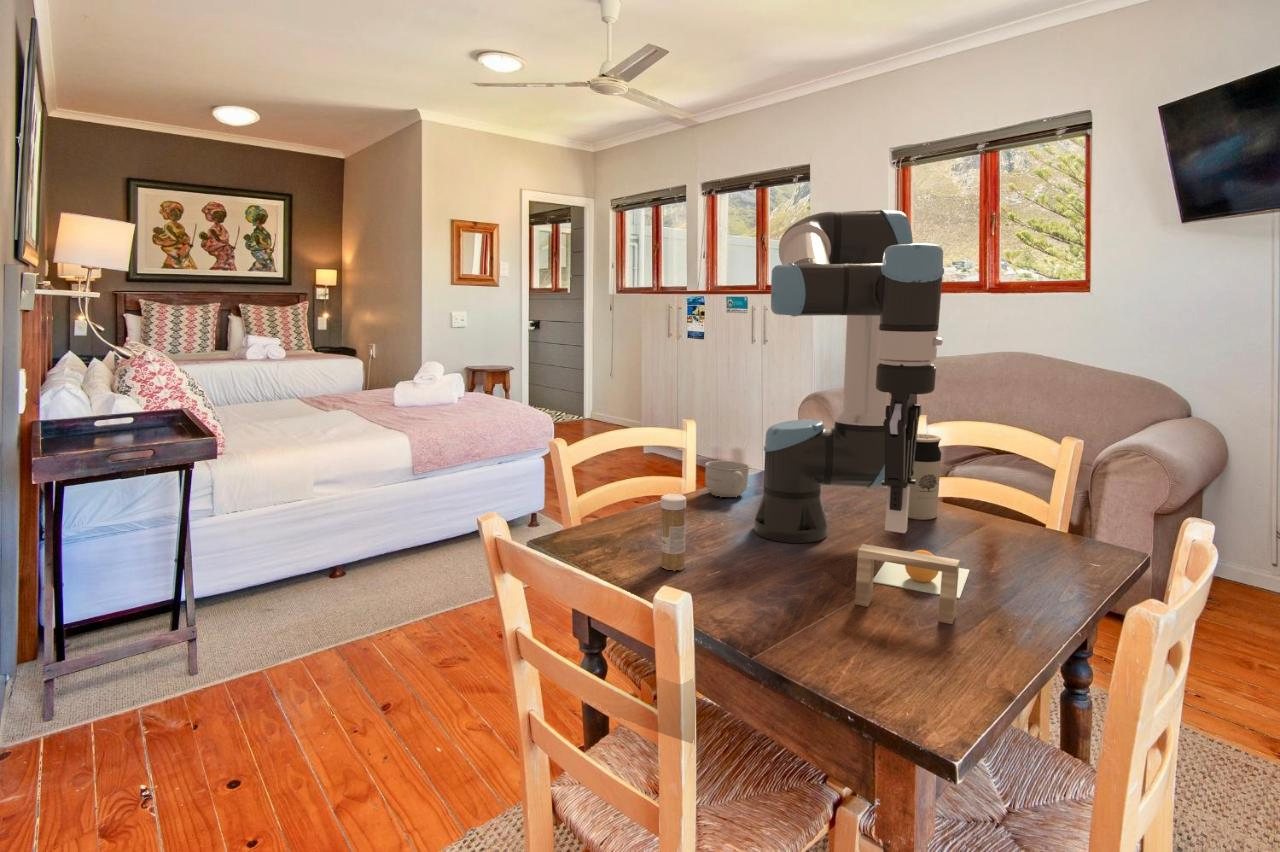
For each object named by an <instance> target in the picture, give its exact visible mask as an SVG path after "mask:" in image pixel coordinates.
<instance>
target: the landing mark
mask: <svg viewBox="0 0 1280 852" xmlns="http://www.w3.org/2000/svg"><path fill="white" fill-rule="evenodd" d="M970 570H971V569H968V568H961V567H959V573H958V586H957V598H956V599H957V600H960V599H961V596H962V593H963V591H964V588H965V585H966V582H967V579H968V576H969V574H970V572H971V571H970ZM941 577H942V572H941V571H939V572H938V574H937V576H936V577H935V578H934V579H933V580H931V581H929V582H918V581H915V580H913V579H912V578H911V577H910V576H909V575H908V573H907V572H906V568H905V565H901V564H896V563H890V562H884V563H883V564H882V566H881V567H880V569H879V570H878V572H877V573H876V575H875V576H873V584H874V583H875V584H880V585H884V586H885V585H886V586H892V587H896V588H901V589H906V590H910V591H911V590H912V591H916V592H921V593H926V594H927V593H928V594H932V595H937V596H940V590H941Z"/></svg>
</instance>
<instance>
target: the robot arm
mask: <svg viewBox="0 0 1280 852" xmlns="http://www.w3.org/2000/svg"><path fill="white" fill-rule="evenodd" d="M778 257H779V260H780V263H781V264H777V265H775V266H774V267H772V270H771V280H770V281H771V284H770V287H771V288H770V310H771V312H772V313H773V314H774V315H779V316H791V317H792V318H793V317H794V318H795V317H801V316H804V317H805V316H807V317H809V316H846V328H845V329H846V330H845V331H846V332H845V333H846V334H845V336H846V337H845V356H844V359H845V360H844V375H843V377H844V380H843V383H844V384H843V404H842V405H843V406H842V412H841V413H840V414H838V416H836V417H835V418H834V428H832V427H825V424H824V422H823V421H822V420H819V419H810V418H809V419H806V418H805V419H793V420H788V421H787V420H785V421H782V422H779V423H778V422H777V423H775V424H773V425H771V426H769V427H768V429H767V430H766V432H765V439H764V446H763V452H764V469H763V494H762V498H761V500H760V503H759V505H758V508H757V512H756V514H755V517H754V521H753V522H754V523H753V525H754V526H753V531H754V533H756V535H758V536H759V537H762V538H764V539H768V540H771V541H775V542H781V543H790V544H803V543H804V544H806V543H813V542H819V541H821V540H824V539H825V538H827V537H828V534H829V522H828V518H827V514H826V511H825V508H824V504H823V501H822V486H844V487H861V488H862V487H865V488H868V489H870V488H885V487H886V490H887V491H886V503H885V504H886V505H885V520H884V521H885V523H884V531H887V532H894V533H899V534H900V533H902V534H906V532H907V531H908V521H909V520H908V519H909V518H908V507H909V492H910V485H908V484H913V485H915V484H916V479H911V477H912V476H913V474H914V471H913V468H914V459H915V449H916V440H917V434H918V428H919V421H920V416H921V413H922V410H921V409H922V405H921V404H918V395H927V394H931V393H932V392H934V390H935V388H936V376H937V375H936V374H937V367H936V366H935V364H934V363H932V362H934V361H935V360H937V354H938V353H937V351H938V347H937V346H942V345H943V339H942V338H941V337H938V336H939V327H940V326H939V324H940V323H939V322H940V311H941V298H942V286H943V276H944V275H945V268H944V250H943V248H942V247H941V246H940V245H938V244H933V243H914V240H913V232H912V227H911V223H910V219H909V218H908V216H907V215H906V213H904V212H903V211H900V210H885V209H880V210H879V209H877V210H876V209H875V210H858V211H857V210H856V211H855V210H854V211H853V210H852V211H851V210H850V211H823V212H818V213H815V214H812V215H808V216H806V217H804V218H802V219H800V220H798V221H797V222H795V223H793V224H792V225H791V226H790V227H788V228H787V229H786V230H785V231H784V233H783V235H782V237H781V238H780V240H779V244H778ZM889 395H890V396H891V398H890V402H889ZM889 403H890V404H889Z"/></svg>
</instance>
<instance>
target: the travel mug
mask: <svg viewBox="0 0 1280 852" xmlns="http://www.w3.org/2000/svg"><path fill="white" fill-rule="evenodd" d="M941 440H942V437H940V436H938V435H936V434H928V433H917V440H916V449H915V459H914V468H913V471H914V474H913V476H912V477H911V479H916V484H915V485H913V484H908V485H910V492H909V507H908V519H911V520H917V521H928V520H929V521H930V520H933V519H935V518H936V517H937V516H938V505H939V492H940V490H939V489H940V479H941V478H940V477H941V462H942V451H941V449H940V447H939V446H940V442H941Z"/></svg>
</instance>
